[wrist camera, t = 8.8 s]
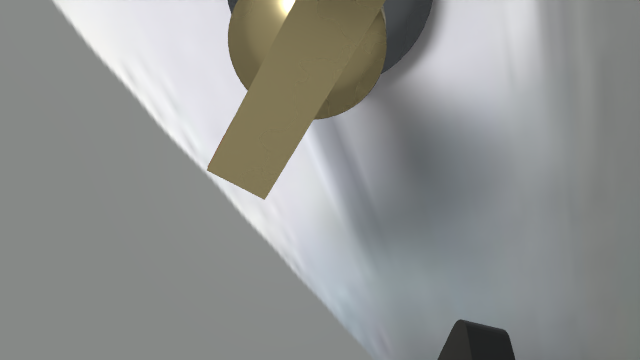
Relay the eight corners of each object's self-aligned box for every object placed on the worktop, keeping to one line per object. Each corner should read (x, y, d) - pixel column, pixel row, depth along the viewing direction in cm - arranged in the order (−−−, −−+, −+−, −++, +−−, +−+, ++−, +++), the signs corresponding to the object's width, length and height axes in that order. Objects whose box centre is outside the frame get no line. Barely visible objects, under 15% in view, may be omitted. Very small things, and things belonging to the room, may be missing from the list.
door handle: (297, -112, 23) (265, -97, 16) (431, -28, 24) (451, 17, 17) (198, 99, 28) (142, 175, 21) (312, 160, 29) (293, 250, 22)
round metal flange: (461, -101, 31) (491, -84, 23) (398, 98, 37) (403, 168, 29) (247, -157, 31) (199, -161, 22) (218, 53, 37) (172, 111, 28)
